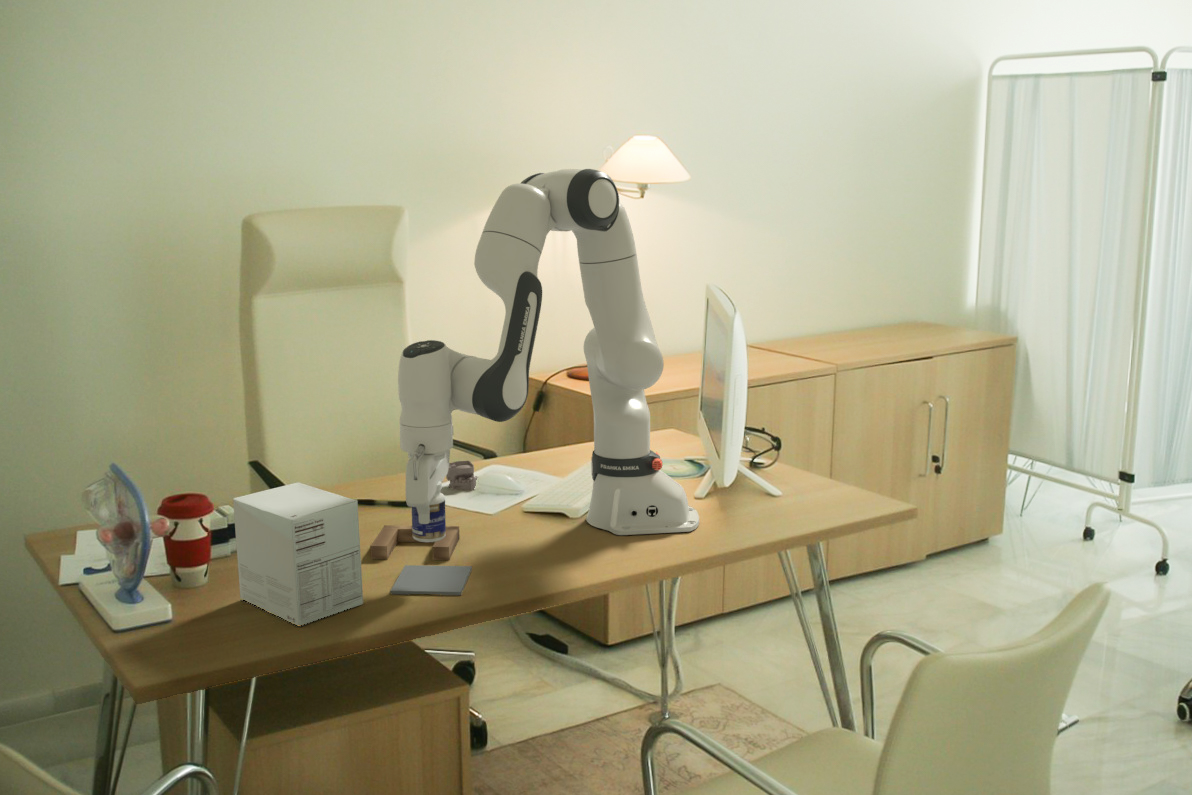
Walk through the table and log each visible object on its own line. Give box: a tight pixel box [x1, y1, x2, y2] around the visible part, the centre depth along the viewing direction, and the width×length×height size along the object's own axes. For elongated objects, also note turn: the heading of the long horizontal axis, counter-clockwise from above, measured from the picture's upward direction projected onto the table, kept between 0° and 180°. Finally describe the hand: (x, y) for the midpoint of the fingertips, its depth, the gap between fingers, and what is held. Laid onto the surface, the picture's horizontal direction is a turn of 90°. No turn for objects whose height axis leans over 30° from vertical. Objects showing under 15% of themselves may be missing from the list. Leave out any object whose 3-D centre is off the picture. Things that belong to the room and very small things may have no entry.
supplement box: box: [232, 481, 364, 626], centre depth 195 cm, size 17×13×18 cm
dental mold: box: [445, 460, 479, 492], centre depth 260 cm, size 8×7×5 cm
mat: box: [390, 564, 473, 596], centre depth 206 cm, size 12×12×1 cm
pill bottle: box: [411, 481, 447, 543], centre depth 203 cm, size 6×6×10 cm
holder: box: [370, 524, 461, 561], centre depth 222 cm, size 14×12×2 cm
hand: (428, 515), depth 203 cm, fingers closed on pill bottle, 6 cm apart
